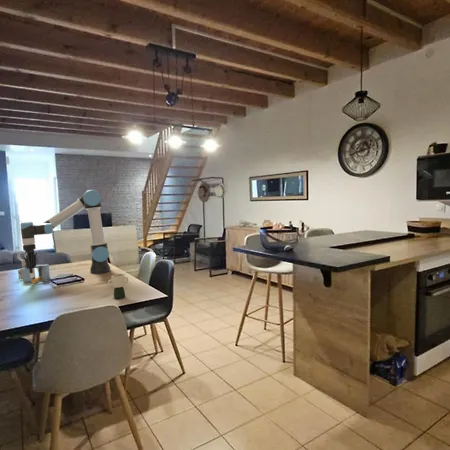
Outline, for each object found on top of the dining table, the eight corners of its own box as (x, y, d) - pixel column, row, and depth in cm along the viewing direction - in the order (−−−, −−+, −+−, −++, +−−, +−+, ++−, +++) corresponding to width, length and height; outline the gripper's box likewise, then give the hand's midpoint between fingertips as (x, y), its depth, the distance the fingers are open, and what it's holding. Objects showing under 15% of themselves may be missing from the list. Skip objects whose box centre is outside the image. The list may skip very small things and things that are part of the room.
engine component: (27, 278, 246) (36, 275, 256) (25, 251, 245) (34, 249, 255) (14, 278, 248) (23, 275, 257) (11, 252, 246) (21, 250, 256)
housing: (50, 279, 238) (48, 262, 237) (47, 281, 234) (45, 263, 233) (26, 281, 237) (24, 263, 236) (23, 282, 233) (21, 264, 232)
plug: (37, 283, 229) (36, 270, 228) (30, 283, 229) (29, 271, 228) (49, 277, 246) (48, 265, 245) (42, 277, 246) (41, 266, 245)
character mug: (127, 294, 189) (126, 272, 188) (130, 297, 183) (129, 274, 182) (108, 298, 183) (106, 275, 182) (111, 301, 177) (109, 277, 176)
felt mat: (72, 274, 254) (72, 273, 254) (64, 278, 239) (64, 278, 239) (59, 274, 253) (59, 274, 253) (50, 279, 239) (50, 279, 238)
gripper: (28, 243, 232) (32, 275, 234) (17, 245, 219) (22, 280, 221) (39, 242, 232) (43, 274, 234) (29, 245, 219) (33, 279, 221)
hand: (32, 277), depth 227 cm, fingers closed
